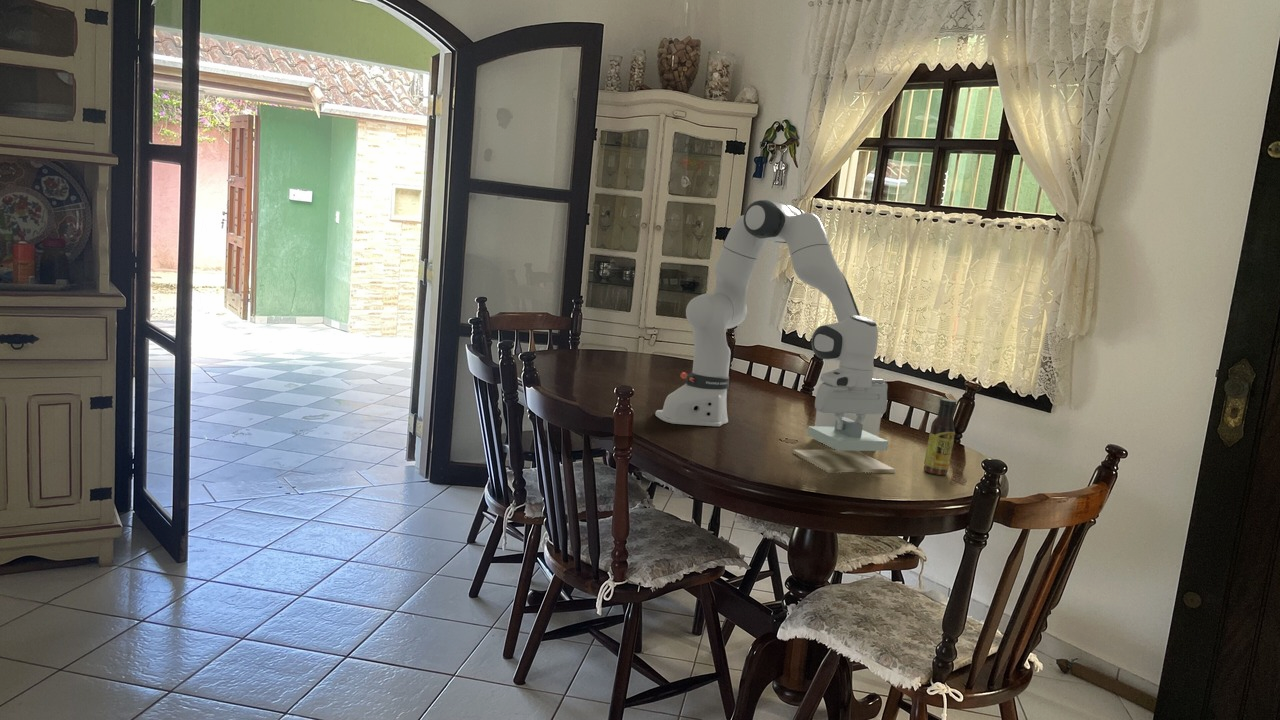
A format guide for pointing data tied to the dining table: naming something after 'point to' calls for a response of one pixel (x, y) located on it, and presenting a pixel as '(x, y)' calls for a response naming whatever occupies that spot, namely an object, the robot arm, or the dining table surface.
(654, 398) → the dining table surface
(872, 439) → the lid
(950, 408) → the sauce bottle
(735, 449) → the dining table surface
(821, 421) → the box
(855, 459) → the board
